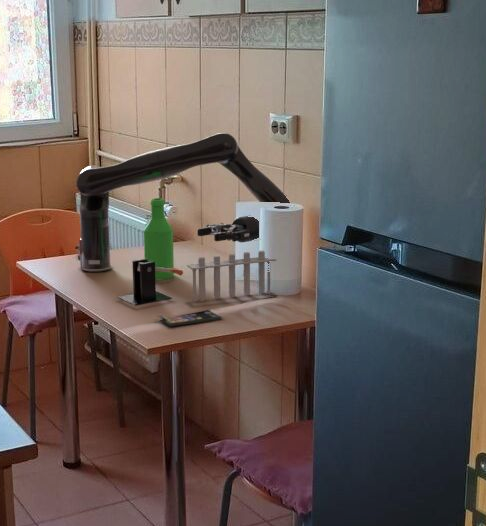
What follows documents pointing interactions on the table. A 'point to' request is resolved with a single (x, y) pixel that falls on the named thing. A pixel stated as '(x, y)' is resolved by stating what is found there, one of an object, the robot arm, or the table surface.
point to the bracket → (144, 284)
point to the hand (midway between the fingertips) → (206, 235)
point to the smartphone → (190, 318)
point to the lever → (165, 269)
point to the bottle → (159, 240)
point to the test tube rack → (231, 274)
